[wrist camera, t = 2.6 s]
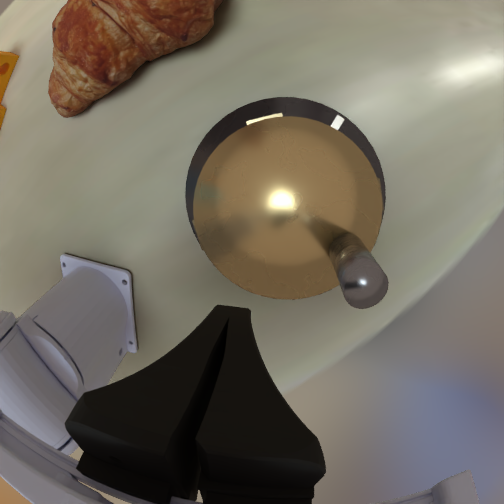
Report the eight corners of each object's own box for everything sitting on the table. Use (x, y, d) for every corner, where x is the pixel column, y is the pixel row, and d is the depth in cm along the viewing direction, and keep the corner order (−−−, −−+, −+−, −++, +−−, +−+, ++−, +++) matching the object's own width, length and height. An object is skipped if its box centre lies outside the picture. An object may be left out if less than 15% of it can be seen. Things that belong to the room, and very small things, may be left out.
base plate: (348, 296, 21) (352, 306, 19) (183, 265, 21) (177, 273, 19) (397, 129, 15) (405, 129, 14) (205, 87, 16) (200, 83, 14)
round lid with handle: (181, 228, 18) (134, 278, 12) (257, 90, 14) (243, 58, 8) (308, 298, 19) (319, 371, 13) (393, 180, 15) (454, 209, 9)
